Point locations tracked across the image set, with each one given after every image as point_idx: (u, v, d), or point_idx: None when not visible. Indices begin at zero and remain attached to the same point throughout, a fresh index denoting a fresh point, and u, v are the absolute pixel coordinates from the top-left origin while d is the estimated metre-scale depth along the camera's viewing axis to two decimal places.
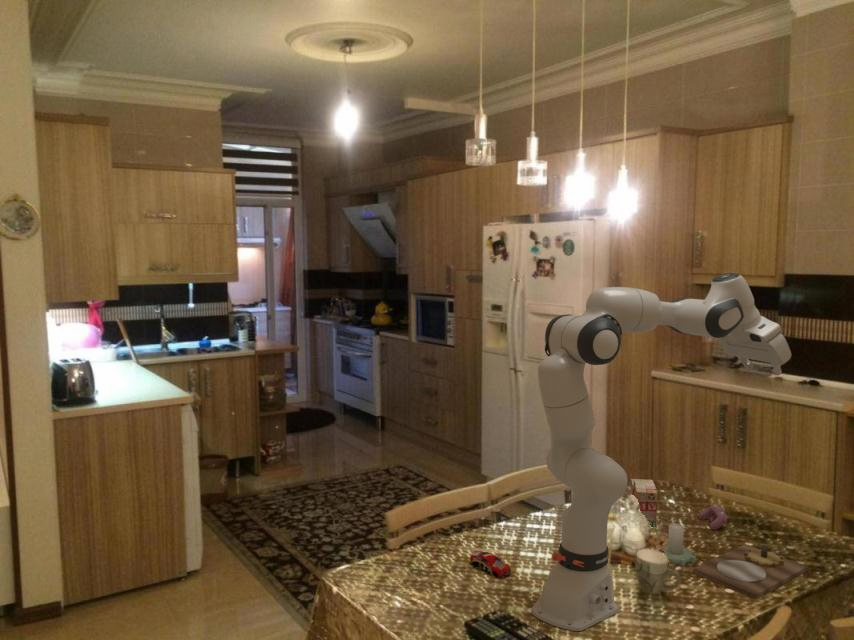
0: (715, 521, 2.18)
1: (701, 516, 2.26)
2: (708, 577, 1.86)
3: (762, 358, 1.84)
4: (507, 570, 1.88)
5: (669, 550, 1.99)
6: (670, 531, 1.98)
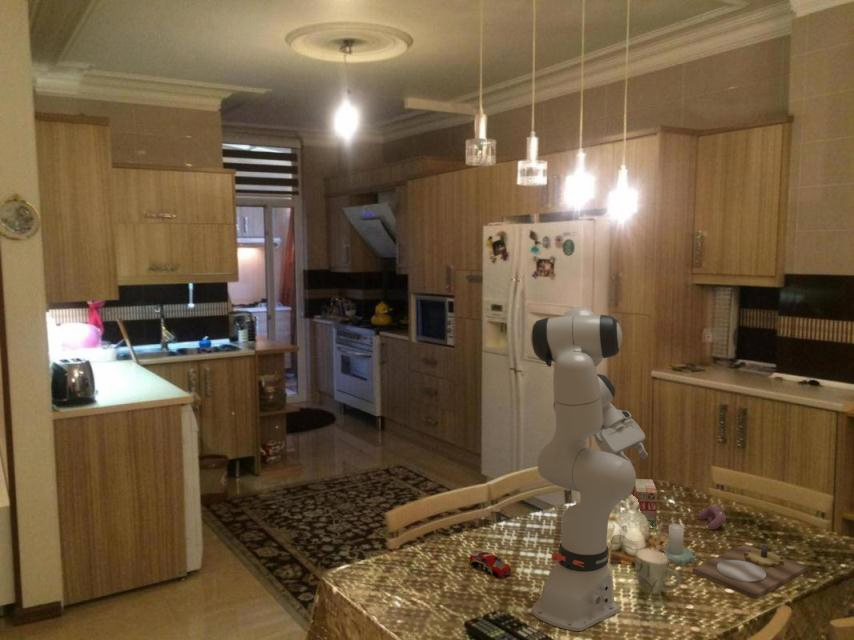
0: (714, 521, 2.18)
1: (699, 516, 2.26)
2: (708, 577, 1.86)
3: (635, 438, 2.09)
4: (507, 570, 1.88)
5: (669, 550, 1.99)
6: (670, 531, 1.98)
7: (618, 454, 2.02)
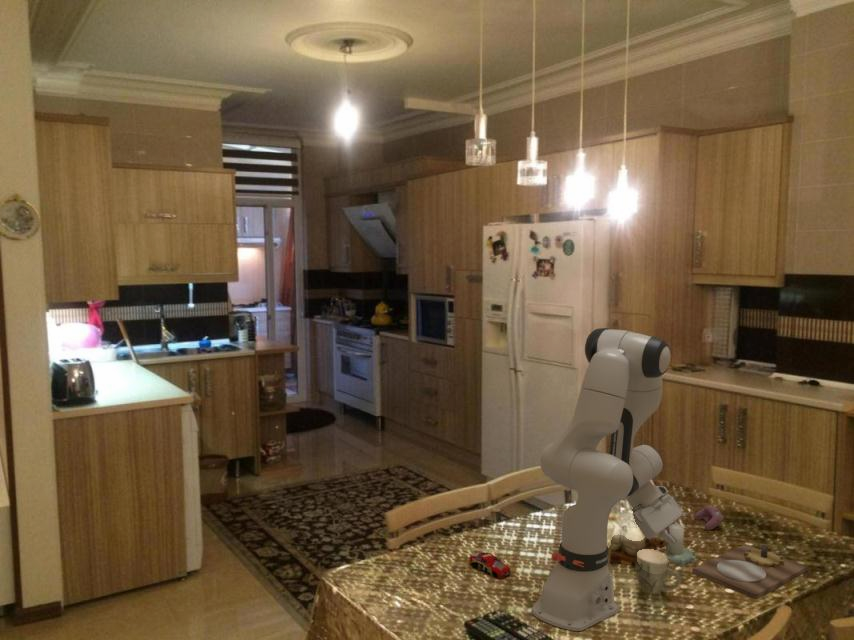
0: (710, 521, 2.18)
1: (696, 516, 2.26)
2: (708, 577, 1.86)
3: (673, 516, 2.03)
4: (507, 570, 1.88)
5: (669, 550, 1.99)
6: (670, 531, 1.98)
7: (661, 533, 1.97)
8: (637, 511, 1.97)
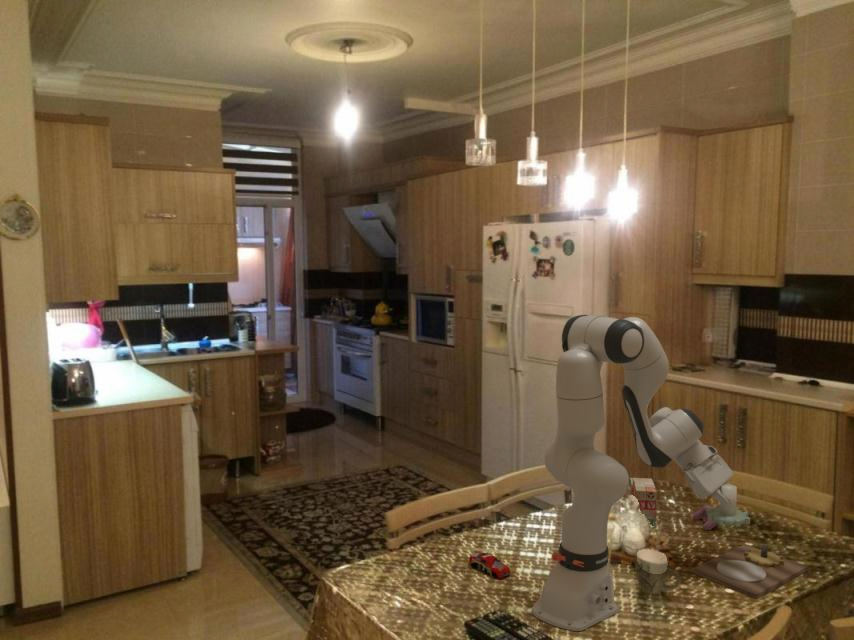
0: (708, 521, 2.18)
1: (694, 516, 2.26)
2: (708, 577, 1.86)
3: (724, 476, 1.92)
4: (506, 571, 1.88)
5: (721, 511, 1.88)
6: (722, 491, 1.88)
7: (714, 493, 1.86)
8: (688, 470, 1.86)
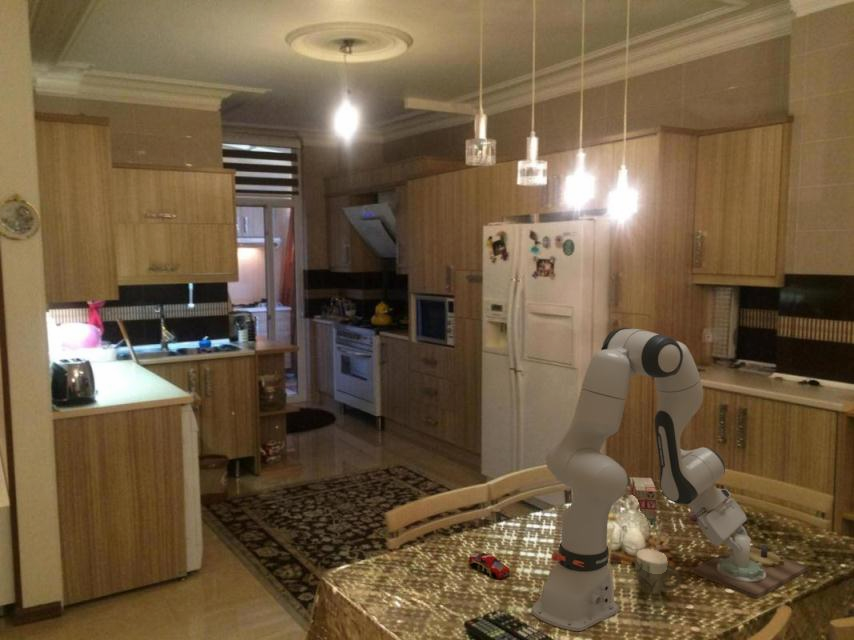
0: None
1: (692, 516, 2.26)
2: (708, 577, 1.86)
3: (738, 521, 1.90)
4: (506, 571, 1.87)
5: (734, 562, 1.87)
6: (735, 542, 1.86)
7: (726, 540, 1.84)
8: (701, 516, 1.85)
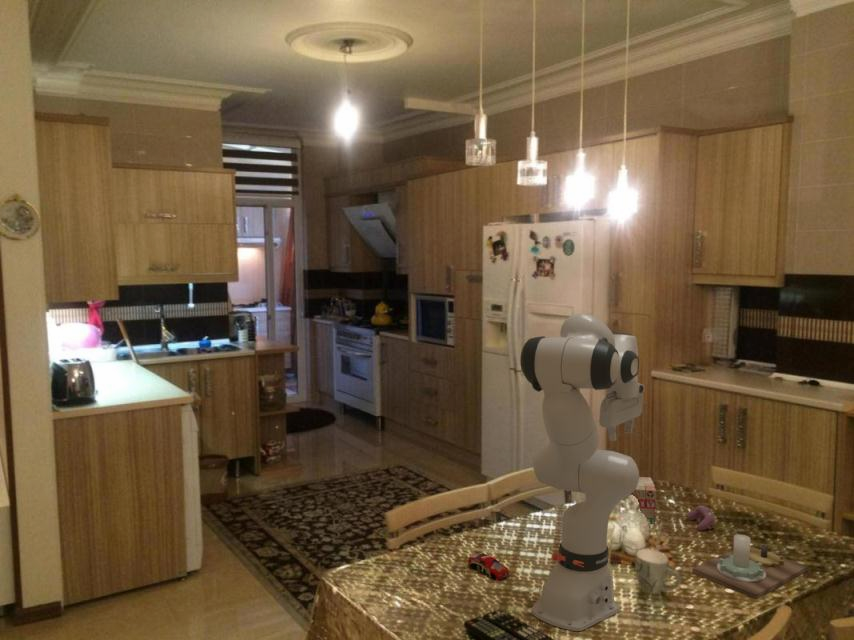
0: (703, 522, 2.18)
1: (688, 517, 2.26)
2: (708, 577, 1.86)
3: (632, 415, 2.01)
4: (505, 572, 1.87)
5: (734, 562, 1.87)
6: (735, 542, 1.86)
7: None
8: (609, 399, 1.92)
